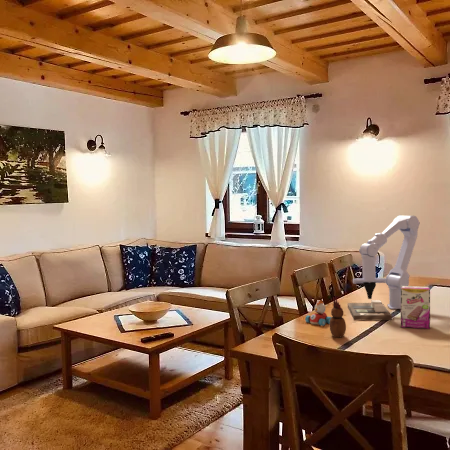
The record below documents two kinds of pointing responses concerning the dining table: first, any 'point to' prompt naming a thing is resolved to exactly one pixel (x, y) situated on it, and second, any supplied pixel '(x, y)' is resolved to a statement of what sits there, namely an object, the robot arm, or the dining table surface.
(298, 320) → the dining table surface
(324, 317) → the toy car
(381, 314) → the switch panel
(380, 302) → the tab
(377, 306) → the tab
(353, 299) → the dining table surface
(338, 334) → the wooden figurine
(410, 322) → the candy bar box
